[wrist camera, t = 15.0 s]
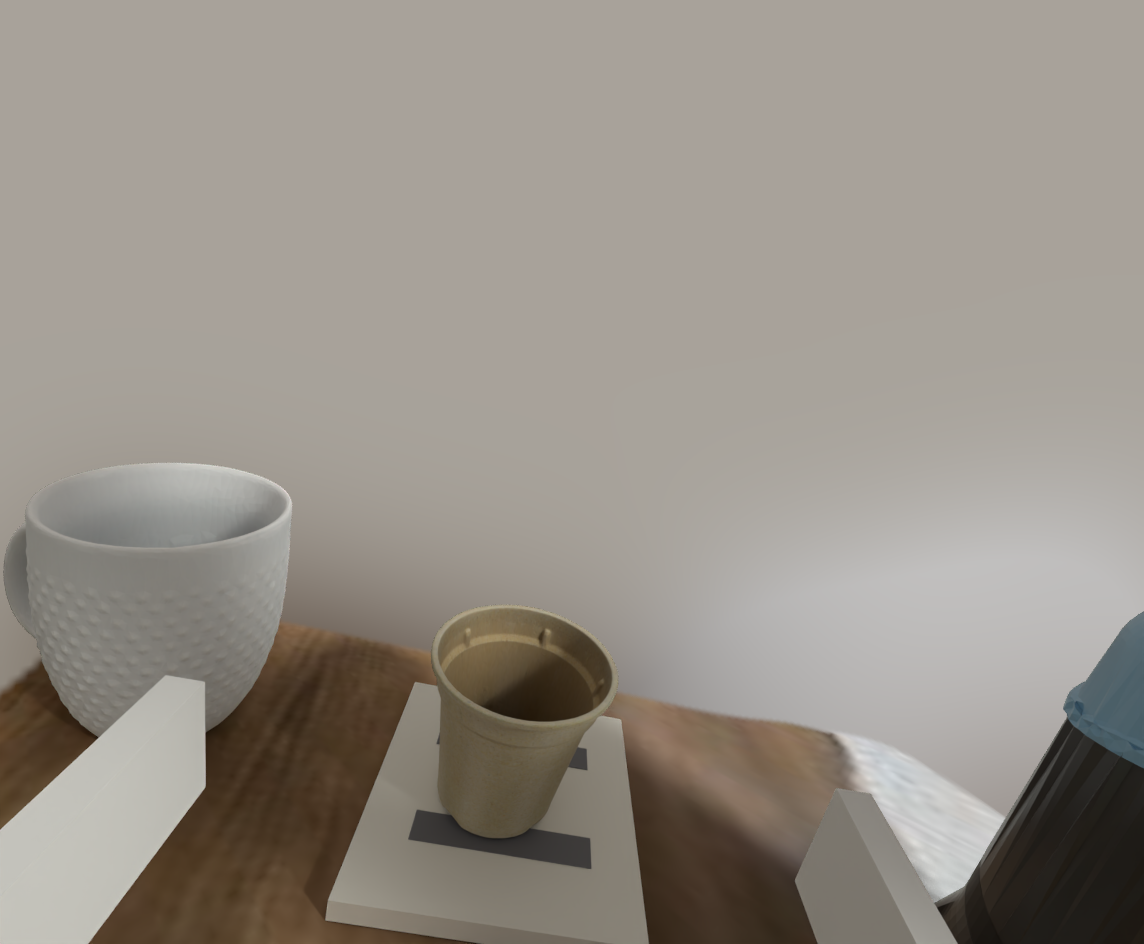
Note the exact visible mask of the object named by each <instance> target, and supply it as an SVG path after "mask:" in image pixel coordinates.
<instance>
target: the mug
mask: <svg viewBox="0 0 1144 944" xmlns="http://www.w3.org/2000/svg"><path fill="white" fill-rule="evenodd" d="M291 517H292V501H291V498H290V496H289V495H288V494H287V492H286V491H285V490H284V489H283V488H282V487H280V486H279V485H277V484H276V483H274V482H272V481H270V480H268V479H266V478H264V477H261V476H259V475H255V474H252V473H248V472H245V471H241V470H237V469H232V468H228V467H221V466H215V465H205V464H193V463H145V464H131V465H120V466H113V467H106V468H101V469H95V470H91V471H87V472H83V473H78V474H75V475H72V476H69V477H66V478H63V479H61V480H58V481H56V482H54V483H51V484H49V485H47V486H46V487H44V488H42V489H41V490H39V491H38V492H37V493H36V494H34V496H33V497H32V498H31V499H30V500H29V502H28V504H27V507H26V515H25V521H26V522H25V523H23V524H22V525H21V526H20V527H19V528H18V529H17V530H16V532H15V533H14V534H13V536H12V537H11V539H10V542H9V544H8V547H7V550H6V554H5V560H4V584H5V590H6V595H7V598H8V601H9V604H10V607H11V609H12V611H13V613H14V615H15V617H16V618H17V620H18V621H19V623H20V624H21V625H22V626H23V627H24V628H25V629H26V631H27V632H28V633H30V634H31V635H32V636H33V637H34V638H36V640H37V647H38V649H39V650H40V654H41V656H42V663H43V664H44V668H45V670H46V671H47V672H48V674H49V679H50V680H51V683H52V685H53V686H54V687H55V689H56V691H57V692H58V694H59V696H60V700H61V701H62V703H63V704H64V705H65V706H66V707H67V708H68V710H69V712H70V714H72V717H74V718H75V719H76V720H78V721H79V722H80V724H81V725H83V726H84V727H85V728H86V729H88V730H89V731H90V732H91V733H93V734H95V735H96V736H98V737H100V736H101V735H102V734H103V733H104V732H105V731H107V730H108V729H109V728H110V727H111V726H112V725H113V724H114V723H115V722H116V721H117V720H118V719H119V718H120V717H122V716H123V715H124V714H125V713H126V712H127V711H128V710H129V709H130V708H131V707H132V706H133V705H134V704H135V703H137V702H138V701H139V700H140V699H141V698H142V697H143V696H144V695H145V694H146V693H147V692H148V691H149V690H150V689H152V688H153V687H154V686H155V685H156V684H157V683H158V682H159V681H160V680H161V679H162V678H163V677H164V676H165V675H168V676H174V677H180V678H185V679H191V680H197V681H203V682H205V732H207V731H209V730H210V729H212V728H213V727H215V726H216V725H218V724H219V723H221V722H222V721H223V720H224V719H225V718H226V717H228V716H229V715H230V714H231V713H232V712H233V711H234V710H235V708H236V707H237V706H238V705H239V704H240V703H241V701H242V700H243V699H244V697H245V696H246V695H247V693H248V692H249V691H250V690H251V689H252V687H253V685H254V682H255V681H256V680H257V678H258V677H259V675H260V672H261V669H262V667H263V666H264V664H265V663H266V660H267V657H268V653H269V651H270V650H271V647H272V645H273V644H274V637H275V635H276V633H277V631H278V626H279V619H280V617H281V612H282V610H283V600H284V596H285V589H286V580H287V575H288V572H287V569H288V561H289V554H290V552H289V548H290V539H291V538H290V527H291Z"/></svg>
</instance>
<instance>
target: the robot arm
mask: <svg viewBox="0 0 1144 944" xmlns="http://www.w3.org/2000/svg"><path fill="white" fill-rule="evenodd" d="M1063 709H1064V710H1065V712H1066V713H1067V716H1068V717H1067V719H1066V720H1065V722H1064V723H1063V725H1062V727H1061V728H1060V730H1059V731H1058V733H1057V735H1056V736H1055V738H1054V740H1053V741H1052V743H1051V745H1050V747H1049V748H1048V749H1047V751H1046V753H1045V754H1044V756H1043V758H1042V759H1041V761H1040V763H1039V764H1038V766H1037V768H1036V769H1035V771H1034V773H1033V774H1032V776H1031V777H1030V779H1029V781H1028V782H1027V784H1026V786H1025V787H1024V789H1023V790H1022V792H1021V794H1020V795H1019V797H1018V799H1017V800H1016V802H1015V804H1014V806H1013V807H1012V808H1011V810H1010V812H1009V813H1008V815H1007V817H1006V818H1005V820H1004V822H1003V823H1002V825H1001V827H1000V828H999V830H998V831H997V833H996V835H995V836H994V838H993V840H992V841H991V843H990V845H989V846H988V848H987V849H986V851H985V853H984V855H983V857H982V859H981V860H980V862H979V864H978V865H977V867H976V869H975V870H974V872H973V874H972V876H971V877H970V879H969V880H968V882H967V883H966V885H965V886H964V887H963V888H961V889H959V890H957V891H956V892H954V893H952V894H950V895H948V896H946V897H945V898H943V899H941V900H939V901H937V902H936V903H934V902H933V900H932V899H931V897H930V895H929V893H928V892H927V890H926V888H925V886H924V885H923V883H922V881H921V880H920V878H919V876H918V874H917V873H916V871H915V869H914V867H913V866H912V864H911V862H910V861H909V859H908V857H907V855H906V854H905V852H904V850H903V848H902V847H901V845H900V843H899V842H898V840H897V838H896V836H895V835H894V833H893V831H892V829H891V828H890V826H889V824H888V823H887V821H886V819H885V817H884V816H883V814H882V812H881V810H880V809H879V807H878V805H877V804H876V802H875V800H874V798H873V797H872V795H871V794H869V793H863V792H857V791H851V790H845V789H839V788H836V790H835V792H834V794H833V796H832V799H831V801H830V803H829V805H828V807H827V810H826V812H825V814H824V816H823V819H822V821H821V823H820V825H819V827H818V830H817V832H816V834H815V836H814V839H813V841H812V843H811V845H810V847H809V850H808V852H807V854H806V856H805V859H804V861H803V863H802V865H801V867H800V870H799V872H798V874H797V876H796V879H795V883H796V886H797V888H798V891H799V894H800V897H801V899H802V902H803V905H804V908H805V910H806V913H807V916H808V918H809V921H810V924H811V927H812V929H813V932H814V935H815V938H816V940H817V943H818V944H1144V612H1142V613H1140V614H1138V615H1137V616H1136V617H1134V618H1133V619H1132V620H1130V621H1129V622H1128V623H1127V624H1126V625H1125V626H1124V627H1123V628H1122V630H1121V631H1120V633H1119V634H1118V636H1117V637H1116V639H1115V640H1114V641H1113V643H1112V644H1111V646H1110V647H1109V648H1108V650H1107V651H1106V653H1105V654H1104V656H1103V657H1102V659H1101V660H1100V661H1099V663H1098V664H1097V666H1096V667H1095V669H1094V670H1093V672H1092V673H1091V674H1090V676H1089V677H1088V679H1087V680H1086V681H1085V682H1083V683H1081V684H1079V685H1078V686H1076V687H1075V688H1073V689H1072V690H1071V691H1070V692H1069V694H1068V696H1067V699H1066V701H1065V704H1064V707H1063ZM205 787H206V760H205V682H203V681H197V680H191V679H185V678H180V677H174V676H168V675H165V676H164V677H163V678H162V679H161V680H160V681H159V682H158V683H157V684H156V685H155V686H154V687H153V688H152V689H150V690H149V691H148V692H147V693H146V694H145V695H144V696H143V697H142V698H141V699H140V700H139V701H138V702H137V703H135V704H134V705H133V706H132V707H131V708H130V709H129V710H128V711H127V712H126V713H125V714H124V715H123V716H122V717H120V718H119V719H118V720H117V721H116V722H115V723H114V724H113V725H112V726H111V727H110V728H109V729H108V730H107V731H105V732H104V733H103V734H102V735H101V736H100V737H99V738H98V739H97V740H96V741H95V742H94V743H93V744H92V745H91V746H89V747H88V748H87V749H86V750H85V751H84V752H83V753H82V754H81V755H80V756H79V757H78V758H77V759H76V760H74V761H73V762H72V763H71V764H70V765H69V766H68V767H67V768H66V769H65V770H64V771H63V772H62V773H61V774H59V775H58V776H57V777H56V778H55V779H54V780H53V781H52V782H51V783H50V784H49V785H48V786H47V787H46V788H45V789H43V790H42V791H41V792H40V793H39V794H38V795H37V796H36V797H35V798H34V799H33V800H32V801H31V802H30V803H28V804H27V805H26V806H25V807H24V808H23V809H22V810H21V811H20V812H19V813H18V814H17V815H16V816H15V817H13V818H12V819H11V820H10V821H9V822H8V823H7V824H6V825H5V826H4V827H3V828H2V829H1V830H0V944H88V943H89V942H90V941H91V939H92V938H93V937H94V935H95V934H96V933H97V931H98V930H99V929H100V927H101V926H102V925H103V923H104V922H105V921H106V919H107V918H108V917H109V915H110V914H111V913H112V911H113V910H114V909H115V907H116V906H117V905H118V903H119V902H120V901H121V899H122V898H123V897H124V895H125V894H126V893H127V891H128V890H129V889H130V887H131V886H132V885H133V883H134V882H135V881H136V879H137V878H138V877H139V875H140V874H141V873H142V871H143V870H144V869H145V867H146V866H147V865H148V863H149V862H150V861H151V859H152V858H153V857H154V855H155V854H156V853H157V851H158V850H159V848H160V847H161V846H162V844H163V843H164V842H165V840H166V839H167V838H168V836H169V835H170V834H171V832H172V831H173V830H174V828H175V827H176V826H177V824H178V823H179V822H180V820H181V819H182V818H183V816H184V815H185V814H186V812H187V811H188V810H189V808H190V807H191V806H192V804H193V803H194V802H195V800H196V799H197V798H198V796H199V795H200V794H201V792H202V791H203V790H204V788H205Z"/></svg>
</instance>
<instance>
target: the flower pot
mask: <svg viewBox="0 0 1144 944" xmlns="http://www.w3.org/2000/svg"><path fill="white" fill-rule="evenodd" d="M431 663H432V668H433V671H434V674H435V676H436V678H437V687H438V691H439V694H440V697H441V710H440V746H439V769H438V782H437V787H438V794H439V798H440V801H441V804H442V806H443V807H445V808H446V809H447V810H448V812H449V813H450V814H451V815H452V816H453V817H454V819H455V820H456V821H457V823H458V824H459V825H460V826H461V827H462V828H463V829H465V830H467V831H469V832H471V833H473V834H476V835H479V836H482V837H487V838H509V837H514V836H518V835H521V834H523V833H524V832H526V831H527V830H528V829H529V828H531V827H532V826H533V825H535V824H536V823H537V822H539V821H540V820H541V819H542V818H543V817H544V816H545V814H546V813H547V811H548V809H549V807H550V804H551V802H552V800H553V798H554V795H555V793H556V791H557V789H558V787H559V785H560V783H561V781H562V778H563V776H564V774H565V772H566V770H567V768H568V766H569V764H570V762H571V760H572V758H573V756H574V754H575V752H576V749H577V747H578V745H579V743H580V741H581V739H582V737H583V735H584V733H585V732H586V731H587V730H588V729H589V728H590V727H591V726H592V725H593V724H594V722H595V721H596V719H597V718H598V717H599V716H601V715H602V714H603V713H604V712H605V711H606V710H607V708H608V707H609V706H610V705H611V703H612V701H613V699H614V697H615V694H616V691H617V688H618V672H617V668H616V666H615V663H614V661H613V659H612V657H611V655H610V654H609V652H608V651H607V649H606V648H605V647H604V646H603V644H601V643H600V641H599V640H598V639H597V638H595V637H594V636H593V635H592V634H590V633H589V632H588V631H587V630H585V629H584V628H582V627H581V626H579V625H577V624H575V623H574V622H572V621H570V620H568V619H566V618H564V617H562V616H560V615H557V614H554V613H552V612H547V611H545V610H541V609H538V608H533V607H527V606H518V605H517V606H516V605H494V606H483V607H476V608H473V609H470V610H467V611H464V612H461V613H459V614H458V615H455V616H454V617H452V618H451V619H450V620H448V621H447V622H446V623H445V624H443V625H442V627H441V629H440V630H439V631H438V632H437V634H436V636H435V638H434V640H433V644H432V649H431Z"/></svg>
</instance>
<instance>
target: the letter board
mask: <svg viewBox="0 0 1144 944" xmlns="http://www.w3.org/2000/svg"><path fill="white" fill-rule="evenodd" d="M440 710H441V697H440V694H439V691H438V687H437V686H435V685H429V684H424V683H418V682H415V684H414V686H413V689H412V691H411V694H410V696H409V699H408V701H407V704H406V706H405V709H404V711H403V714H402V716H401V719H400V721H399V724H398V726H397V729H396V731H395V734H394V736H393V739H392V741H391V744H390V746H389V749H388V751H387V754H386V756H385V759H384V761H383V764H382V766H381V769H380V771H379V774H378V776H377V779H376V781H375V784H374V786H373V789H372V791H371V794H370V796H369V799H368V801H367V804H366V806H365V809H364V811H363V814H362V816H361V819H360V821H359V824H358V826H357V829H356V831H355V834H354V836H353V839H352V841H351V844H350V846H349V849H348V851H347V854H346V856H345V859H344V861H343V864H342V866H341V869H340V871H339V874H338V876H337V879H336V881H335V884H334V886H333V889H332V891H331V894H330V896H329V899H328V903H327V911H326V919H325V920H326V921H333V922H339V923H346V924H353V925H359V926H366V927H373V928H379V929H386V930H393V931H399V932H406V933H413V934H419V935H426V936H433V937H439V938H446V939H453V940H459V941H466V942H473V943H480V944H649V941H648V933H647V925H646V916H645V908H644V900H643V892H642V884H641V876H640V868H639V860H638V852H637V844H636V836H635V828H634V820H633V812H632V804H631V796H630V788H629V780H628V771H627V763H626V755H625V747H624V739H623V731H622V723H621V719H616V718H611V717H605V716H599V717H598V718H597V719H596V721H595V722H594V724H593V725H592V726H591V727H590V728H589V729H588V730H587V731H586V732H585V733H584V735H583V737H582V739H581V741H580V743H579V745H578V747H577V749H576V752H575V754H574V756H573V758H572V760H571V762H570V764H569V766H568V768H567V770H566V772H565V774H564V776H563V778H562V781H561V783H560V785H559V787H558V789H557V791H556V793H555V795H554V798H553V800H552V802H551V804H550V807H549V809H548V811H547V813H546V814H545V816H544V817H543V818H542V819H541V820H540V821H539V822H537V823H536V824H535V825H533V826H532V827H531V828H529V829H528V830H527V831H526V832H524V833H523V834H521V835H518V836H514V837H509V838H487V837H482V836H479V835H476V834H473V833H471V832H469V831H467V830H465V829H463V828H462V827H461V826H460V825H459V824H458V823H457V821H456V820H455V819H454V817H453V816H452V815H451V814H450V813H449V812H448V810H447V809H446V808H445V807H443V806H442V804H441V801H440V798H439V794H438V787H437V782H438V769H439V746H440Z"/></svg>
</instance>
